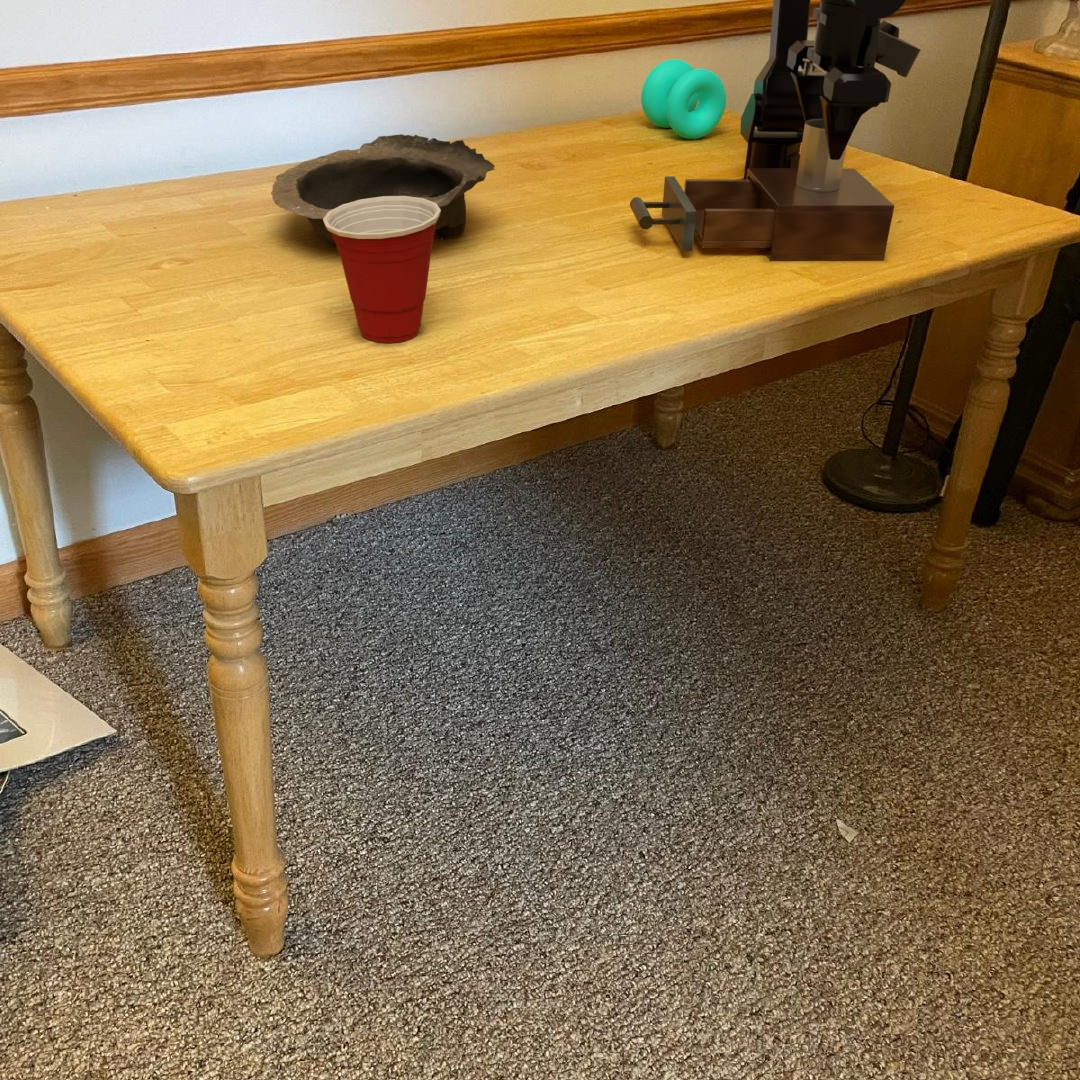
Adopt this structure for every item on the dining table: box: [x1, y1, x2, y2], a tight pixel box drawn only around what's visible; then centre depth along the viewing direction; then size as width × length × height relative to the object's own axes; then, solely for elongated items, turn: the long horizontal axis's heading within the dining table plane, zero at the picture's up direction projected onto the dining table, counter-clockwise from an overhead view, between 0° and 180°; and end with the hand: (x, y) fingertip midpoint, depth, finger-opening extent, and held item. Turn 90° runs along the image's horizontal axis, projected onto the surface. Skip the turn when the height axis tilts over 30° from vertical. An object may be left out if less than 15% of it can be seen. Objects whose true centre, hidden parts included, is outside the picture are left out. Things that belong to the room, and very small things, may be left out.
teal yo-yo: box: [640, 58, 727, 140], centre depth 178 cm, size 10×10×10 cm
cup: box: [796, 118, 848, 192], centre depth 136 cm, size 5×5×7 cm
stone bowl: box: [270, 134, 496, 246], centre depth 136 cm, size 25×25×9 cm
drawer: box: [629, 175, 776, 253], centre depth 138 cm, size 17×13×5 cm
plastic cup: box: [323, 196, 441, 344], centre depth 112 cm, size 11×11×12 cm
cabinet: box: [746, 168, 895, 262], centre depth 139 cm, size 13×14×6 cm
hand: (824, 149), depth 135 cm, fingers open, 8 cm apart
